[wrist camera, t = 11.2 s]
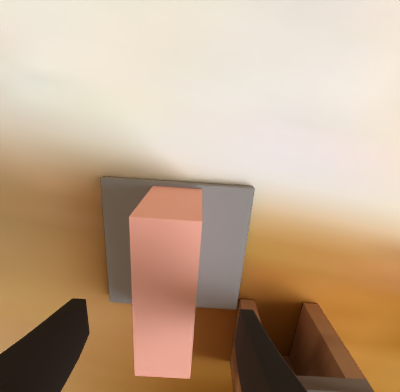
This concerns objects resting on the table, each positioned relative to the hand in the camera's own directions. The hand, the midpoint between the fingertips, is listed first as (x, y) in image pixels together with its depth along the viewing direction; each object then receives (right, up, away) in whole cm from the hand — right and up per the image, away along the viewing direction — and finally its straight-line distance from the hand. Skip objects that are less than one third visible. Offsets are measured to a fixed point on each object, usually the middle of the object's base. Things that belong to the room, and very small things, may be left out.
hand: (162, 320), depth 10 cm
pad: (0, +2, +6) cm, 6 cm away
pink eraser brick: (0, +2, +6) cm, 6 cm away
